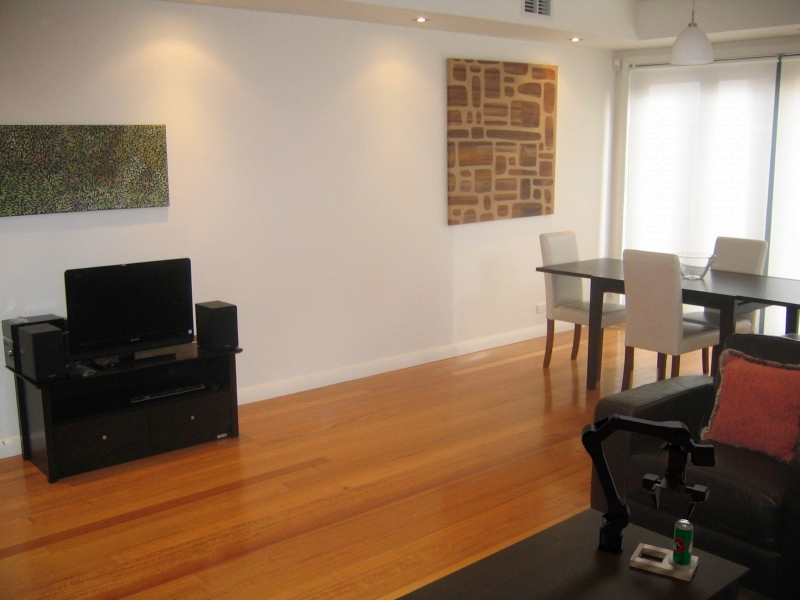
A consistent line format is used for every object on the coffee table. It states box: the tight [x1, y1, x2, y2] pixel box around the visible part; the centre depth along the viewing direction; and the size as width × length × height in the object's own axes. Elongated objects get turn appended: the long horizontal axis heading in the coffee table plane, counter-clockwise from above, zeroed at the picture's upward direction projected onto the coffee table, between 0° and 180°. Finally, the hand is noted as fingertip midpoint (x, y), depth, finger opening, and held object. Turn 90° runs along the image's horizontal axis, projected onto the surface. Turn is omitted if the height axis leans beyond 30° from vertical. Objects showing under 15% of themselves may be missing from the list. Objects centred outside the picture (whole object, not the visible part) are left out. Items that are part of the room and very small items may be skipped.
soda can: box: [672, 519, 694, 565], centre depth 234 cm, size 5×5×12 cm
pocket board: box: [629, 542, 699, 582], centre depth 237 cm, size 17×12×2 cm
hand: (672, 514), depth 242 cm, fingers open, 9 cm apart
